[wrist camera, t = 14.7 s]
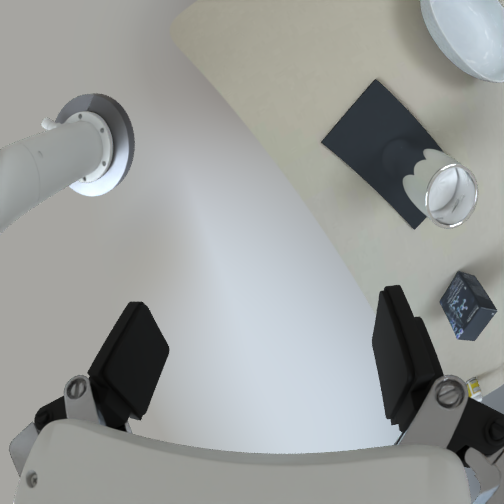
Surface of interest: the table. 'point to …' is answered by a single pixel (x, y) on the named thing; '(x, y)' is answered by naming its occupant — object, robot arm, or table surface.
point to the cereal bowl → (469, 34)
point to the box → (467, 306)
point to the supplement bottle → (474, 389)
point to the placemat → (378, 143)
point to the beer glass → (432, 182)
